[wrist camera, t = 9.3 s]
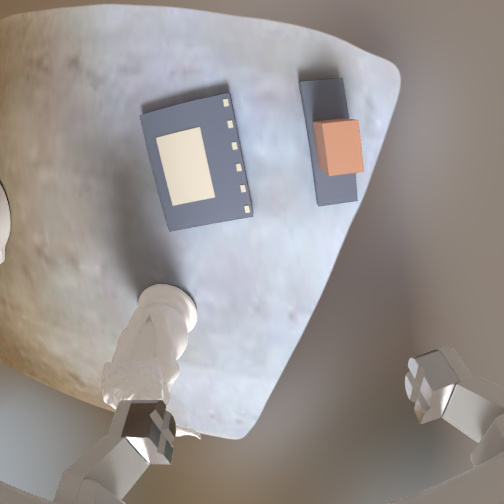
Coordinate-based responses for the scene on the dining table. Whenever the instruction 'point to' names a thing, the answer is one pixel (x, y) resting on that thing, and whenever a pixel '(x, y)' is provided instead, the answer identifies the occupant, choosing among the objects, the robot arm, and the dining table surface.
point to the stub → (331, 141)
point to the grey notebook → (197, 162)
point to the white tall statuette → (151, 349)
